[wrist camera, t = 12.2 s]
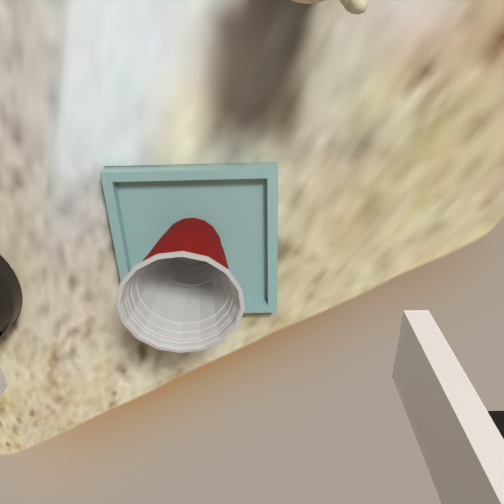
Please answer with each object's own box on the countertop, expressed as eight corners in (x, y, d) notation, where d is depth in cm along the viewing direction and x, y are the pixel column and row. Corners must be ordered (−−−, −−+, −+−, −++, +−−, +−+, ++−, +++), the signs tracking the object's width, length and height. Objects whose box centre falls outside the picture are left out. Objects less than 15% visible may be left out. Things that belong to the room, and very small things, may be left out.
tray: (130, 306, 54) (127, 316, 52) (105, 166, 46) (99, 172, 44) (276, 303, 54) (276, 312, 52) (276, 162, 46) (277, 168, 44)
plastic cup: (191, 301, 53) (178, 377, 42) (121, 237, 49) (87, 302, 38) (265, 248, 50) (271, 316, 39) (197, 174, 45) (183, 227, 35)
